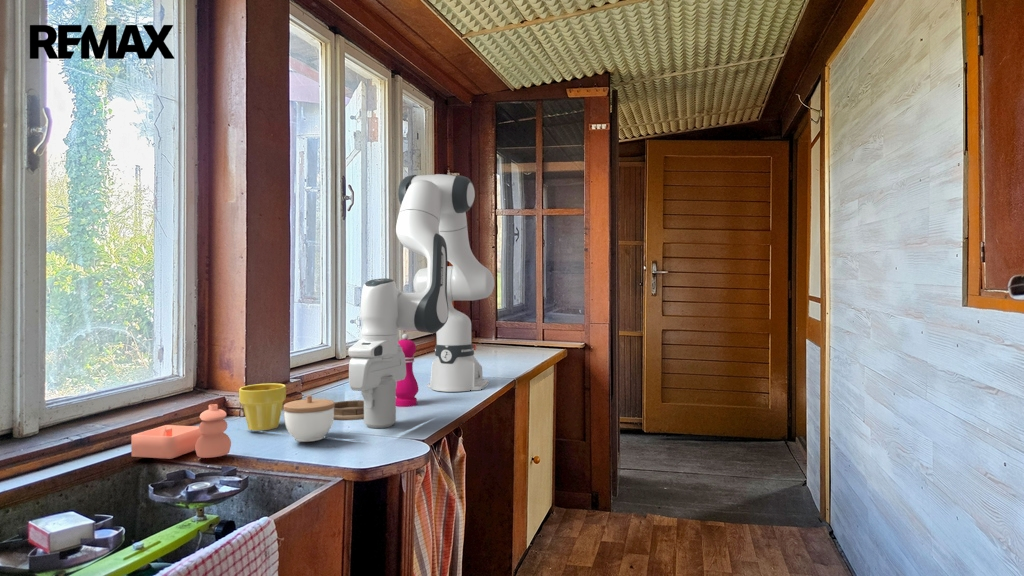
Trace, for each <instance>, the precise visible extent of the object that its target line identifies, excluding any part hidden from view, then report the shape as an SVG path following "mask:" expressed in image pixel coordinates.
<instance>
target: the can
mask: <svg viewBox="0 0 1024 576" xmlns="http://www.w3.org/2000/svg"><path fill="white" fill-rule="evenodd" d="M392 377H393V376H392V375H391V377H385V378H381V382H380V384H379V386H378V387H376V388H373V393H371V395H372V398H373V399H374V400H375V403H374V404H375V406H374V407H372V408H366V407H365V400H364V399H363V401H364V419H363V423H364V425H365V426H366V427H368V428H370V429H371V428H372V429H385V428H390V427H393V424H395V423H396V421H397V415H396V414H397V406H396V382H395V381H394V380H393V379H392Z"/></svg>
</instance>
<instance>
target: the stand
mask: <svg viewBox="0 0 1024 576" xmlns="http://www.w3.org/2000/svg"><path fill="white" fill-rule="evenodd" d="M334 402H335V401H334ZM334 420H335V421H353V420H354V421H355V420H364V400H363V399H362V400H355V399H354V400H343V401H342V400H341V401H336V402H335V407H334V419H333V421H334Z"/></svg>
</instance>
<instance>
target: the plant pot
mask: <svg viewBox="0 0 1024 576" xmlns="http://www.w3.org/2000/svg"><path fill="white" fill-rule="evenodd" d="M286 386H287V385H285V384H283V383H274V382H273V383H257V384H249V385H245V386H241V387H240V388H239V389H238V394H239V395H238V397H239V398H238V399H239V400H238V401H239V403H240V404H241V405H242V407H243V412H244V416H245V420H246V424H247V425H246V426H247V428H248V430H250V431H251V432H252V431H254V432H255V431H256V432H258V431H259V432H262V431H269V430H275V429H277V428H278V427H279V426H280V425H279V424H280V422H281V421H280V420H281V414H282V409H283V406H284V401H285V400H286V399H287V387H286Z"/></svg>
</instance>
